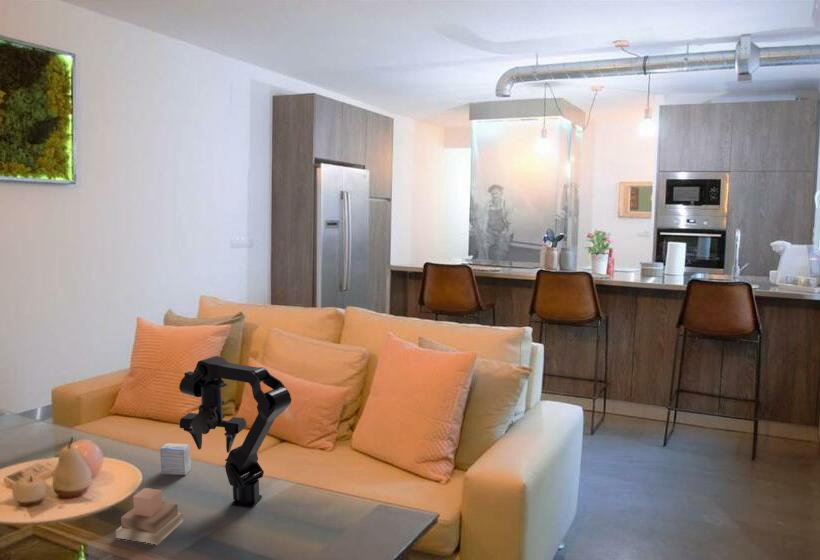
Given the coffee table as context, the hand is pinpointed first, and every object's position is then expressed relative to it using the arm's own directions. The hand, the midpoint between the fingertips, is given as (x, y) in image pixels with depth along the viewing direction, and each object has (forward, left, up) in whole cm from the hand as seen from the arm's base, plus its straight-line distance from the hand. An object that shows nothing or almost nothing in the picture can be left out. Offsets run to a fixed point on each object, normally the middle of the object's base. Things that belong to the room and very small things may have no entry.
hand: (214, 450), depth 203 cm
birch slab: (+6, +24, -13) cm, 28 cm away
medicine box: (+18, -8, -13) cm, 23 cm away
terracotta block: (+6, +24, -7) cm, 26 cm away
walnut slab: (+6, +24, -10) cm, 27 cm away
